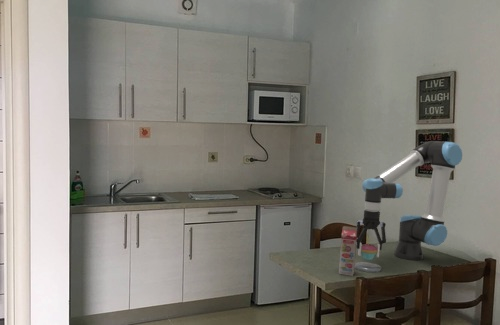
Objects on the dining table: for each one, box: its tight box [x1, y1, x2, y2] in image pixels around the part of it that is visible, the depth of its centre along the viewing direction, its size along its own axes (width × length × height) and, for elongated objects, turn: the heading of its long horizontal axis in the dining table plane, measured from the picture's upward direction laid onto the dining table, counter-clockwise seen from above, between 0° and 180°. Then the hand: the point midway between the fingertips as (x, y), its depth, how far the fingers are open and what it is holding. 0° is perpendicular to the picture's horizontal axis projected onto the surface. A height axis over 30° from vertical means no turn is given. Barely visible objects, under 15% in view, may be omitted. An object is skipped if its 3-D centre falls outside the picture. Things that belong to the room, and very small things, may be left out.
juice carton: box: [338, 225, 358, 277], centre depth 217 cm, size 7×7×22 cm
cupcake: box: [361, 233, 378, 261], centre depth 226 cm, size 9×8×12 cm
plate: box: [354, 261, 382, 273], centre depth 227 cm, size 13×13×1 cm
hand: (368, 255), depth 226 cm, fingers closed on cupcake, 8 cm apart
